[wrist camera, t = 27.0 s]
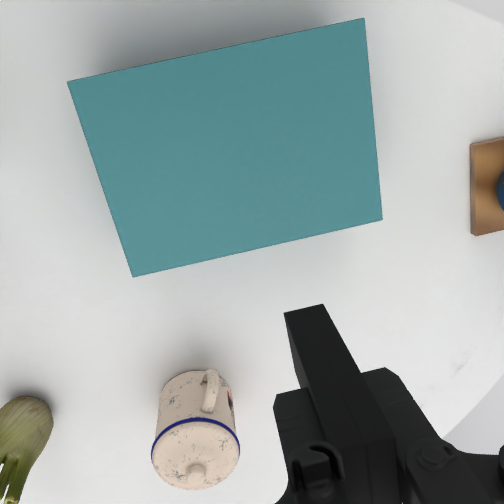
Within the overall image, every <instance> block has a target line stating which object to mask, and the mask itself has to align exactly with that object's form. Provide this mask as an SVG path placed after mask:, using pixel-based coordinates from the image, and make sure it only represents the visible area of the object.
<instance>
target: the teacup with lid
mask: <svg viewBox="0 0 504 504" xmlns="http://www.w3.org/2000/svg"><path fill="white" fill-rule="evenodd" d="M239 455H240V445H239V441H238V439H237V436H236V429H235V420H234V411H233V402H232V394H231V391H230V388H229V387H228V385H227V384H226V382H225V381H224V380H223V379H221V378H220V377H219V375H218V372H217V371H216V370H212V369H208V370H207V371H189V372H185V373H182V374H180V375H177V376H176V377H174V378H173V379H171V380H170V381H169V382H168V383H167V384H166V385H165V387H164V388H163V390H162V392H161V395H160V401H159V410H158V418H157V427H156V436H155V441H154V443H153V446H152V450H151V459H152V463H153V466H154V469H155V471H156V472H157V474H158V475H159V476H160V477H161V478H162V479H163V480H164V481H165V482H167V483H168V484H170V485H172V486H174V487H177V488H181V489H187V490H198V489H204V488H208V487H211V486H214V485H216V484H218V483H220V482H221V481H223V480H224V479H225V478H227V477H228V476H229V475H230V474H231V472H232V471H233V470H234V468H235V466H236V464H237V462H238V459H239Z"/></svg>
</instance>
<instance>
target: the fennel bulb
mask: <svg viewBox="0 0 504 504" xmlns="http://www.w3.org/2000/svg"><path fill="white" fill-rule="evenodd" d="M52 428H53V418H52V415H51V411H50V409H49V407H48V406H47V405H46V403H45V402H44V401H41V400H40V399H37V398H34V397H31V396H22V397H18V398H16V399H13V400H11V401H10V402H8V403H7V404H5V405H4V406H3V407H2V408H1V409H0V465H1V464H2V463H3V464H4V466H3V468H2V471H1V473H0V500H1V499H2V498H3V496H4V493H5V490H6V487H7V485H8V484H9V488H8V491H7V494H6V497H5V500H4V504H18V503H19V500H20V496H21V494H22V490H23V487H24V484H25V482H26V479H27V476H28V474H29V472H30V469H31V468H32V466H33V464H34V463H35V461H36V459H37V458H38V457H39V455H40V454H41V452H42V451H43V449H44V447H45V445H46V443H47V441H48V439H49V437H50V434H51V431H52Z"/></svg>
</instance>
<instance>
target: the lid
mask: <svg viewBox="0 0 504 504" xmlns="http://www.w3.org/2000/svg"><path fill="white" fill-rule="evenodd" d="M67 84H68V87H69V90H70V93H71V96H72V99H73V102H74V105H75V108H76V111H77V114H78V117H79V120H80V123H81V126H82V129H83V132H84V135H85V138H86V140H87V143H88V146H89V149H90V152H91V155H92V158H93V161H94V164H95V167H96V170H97V173H98V176H99V179H100V182H101V185H102V188H103V191H104V194H105V197H106V200H107V203H108V206H109V209H110V212H111V215H112V218H113V221H114V224H115V226H116V229H117V232H118V235H119V238H120V241H121V244H122V247H123V250H124V253H125V256H126V259H127V262H128V265H129V268H130V271H131V274H132V277H137V276H142V275H146V274H150V273H155V272H159V271H163V270H168V269H172V268H176V267H181V266H185V265H189V264H194V263H198V262H202V261H207V260H211V259H215V258H220V257H224V256H228V255H233V254H237V253H242V252H246V251H250V250H255V249H259V248H263V247H268V246H272V245H276V244H281V243H285V242H289V241H294V240H298V239H302V238H307V237H311V236H315V235H320V234H324V233H328V232H333V231H337V230H341V229H346V228H350V227H354V226H359V225H363V224H368V223H372V222H376V221H381V220H383V217H382V206H381V195H380V184H379V173H378V162H377V151H376V140H375V129H374V118H373V107H372V96H371V85H370V74H369V63H368V52H367V41H366V30H365V19H364V18H360V19H356V20H351V21H346V22H342V23H337V24H332V25H328V26H323V27H318V28H314V29H309V30H304V31H300V32H295V33H290V34H286V35H281V36H276V37H272V38H267V39H263V40H258V41H253V42H249V43H244V44H239V45H235V46H230V47H225V48H221V49H216V50H211V51H207V52H202V53H197V54H193V55H188V56H183V57H179V58H174V59H169V60H165V61H160V62H156V63H151V64H146V65H142V66H137V67H132V68H128V69H123V70H118V71H114V72H109V73H104V74H100V75H95V76H90V77H86V78H81V79H76V80H72V81H68V82H67Z"/></svg>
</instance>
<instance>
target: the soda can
mask: <svg viewBox="0 0 504 504" xmlns="http://www.w3.org/2000/svg"><path fill="white" fill-rule="evenodd" d="M496 193H497V198H498V202H499V205H500V206H501V208H502V209H503V211H504V170H503V171H502V173H501V174H500V176H499V178H498V181H497V186H496Z"/></svg>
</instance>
